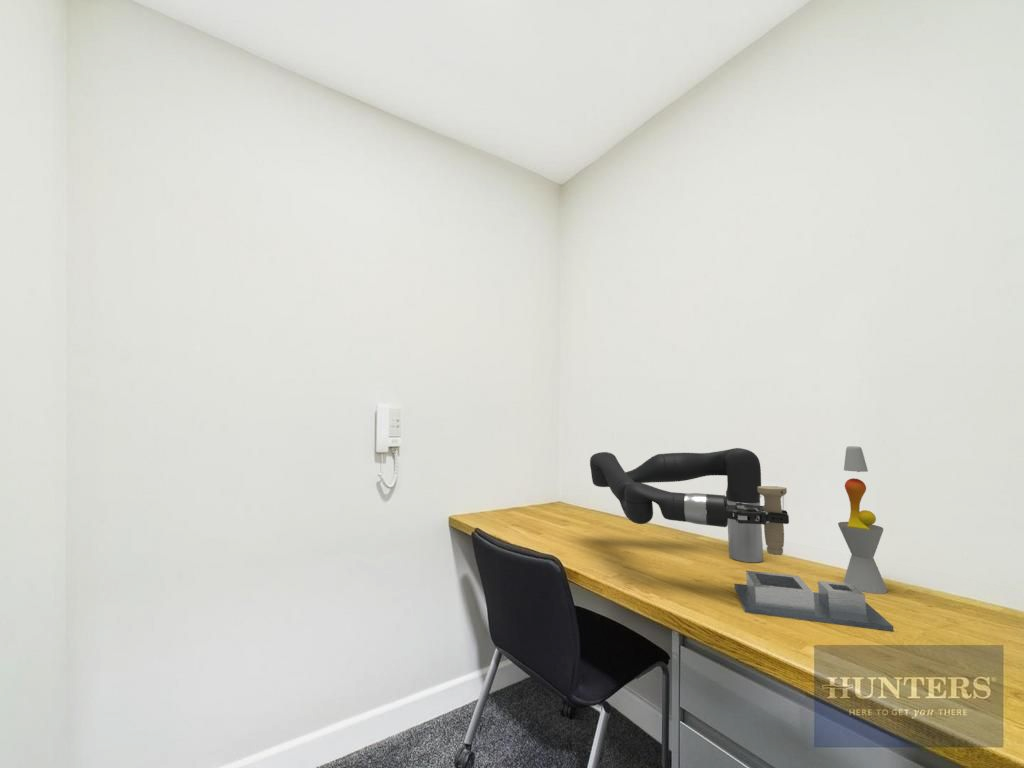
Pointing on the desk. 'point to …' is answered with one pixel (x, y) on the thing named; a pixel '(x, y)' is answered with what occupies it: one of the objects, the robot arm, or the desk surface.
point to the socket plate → (808, 601)
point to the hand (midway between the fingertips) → (787, 517)
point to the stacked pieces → (860, 531)
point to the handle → (772, 530)
